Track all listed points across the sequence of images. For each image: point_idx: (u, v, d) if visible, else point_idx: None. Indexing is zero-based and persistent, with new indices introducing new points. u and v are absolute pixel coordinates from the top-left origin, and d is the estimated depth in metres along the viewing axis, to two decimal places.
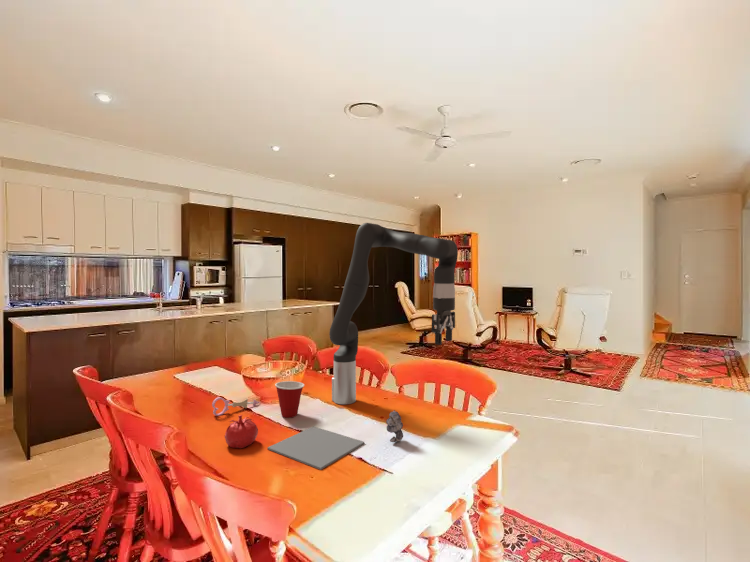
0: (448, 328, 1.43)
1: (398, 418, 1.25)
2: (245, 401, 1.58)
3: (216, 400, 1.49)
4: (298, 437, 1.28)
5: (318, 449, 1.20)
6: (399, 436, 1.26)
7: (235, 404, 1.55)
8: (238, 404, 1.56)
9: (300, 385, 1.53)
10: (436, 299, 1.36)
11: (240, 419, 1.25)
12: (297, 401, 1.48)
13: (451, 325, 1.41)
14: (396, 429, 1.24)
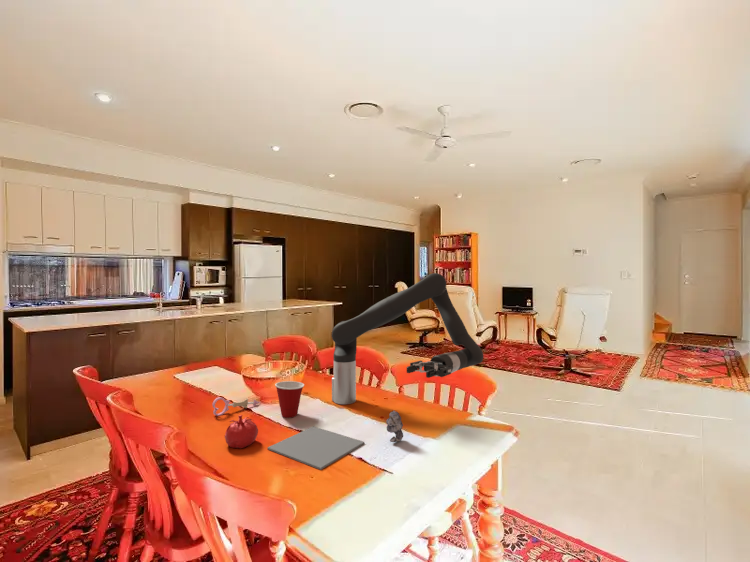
0: (415, 367, 1.40)
1: (398, 418, 1.25)
2: (245, 401, 1.58)
3: (216, 400, 1.49)
4: (298, 437, 1.28)
5: (318, 449, 1.20)
6: (399, 436, 1.26)
7: (235, 404, 1.55)
8: (238, 404, 1.56)
9: (300, 385, 1.53)
10: (451, 362, 1.42)
11: (240, 419, 1.25)
12: (297, 401, 1.48)
13: (421, 372, 1.40)
14: (396, 429, 1.24)
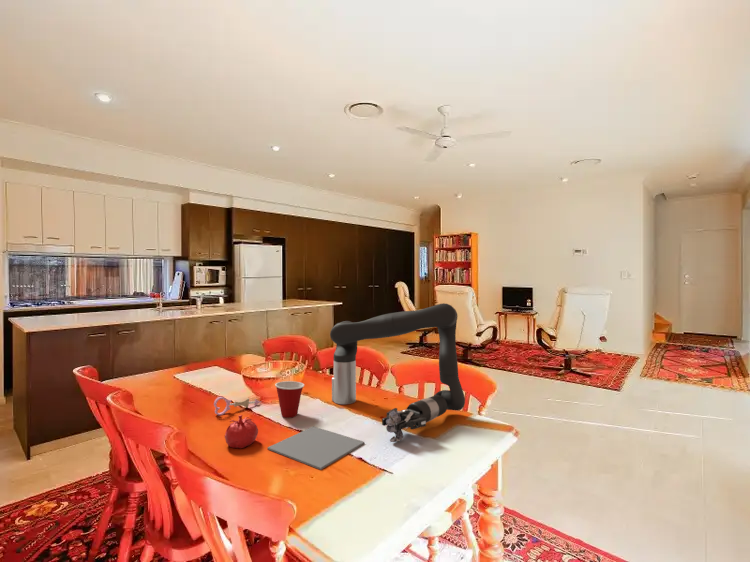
0: None
1: (398, 418, 1.25)
2: (247, 400, 1.58)
3: (218, 399, 1.49)
4: (298, 437, 1.28)
5: (318, 449, 1.20)
6: (399, 436, 1.26)
7: (236, 403, 1.55)
8: (240, 403, 1.56)
9: (300, 385, 1.53)
10: (429, 411, 1.33)
11: (240, 419, 1.25)
12: (297, 401, 1.48)
13: None
14: None
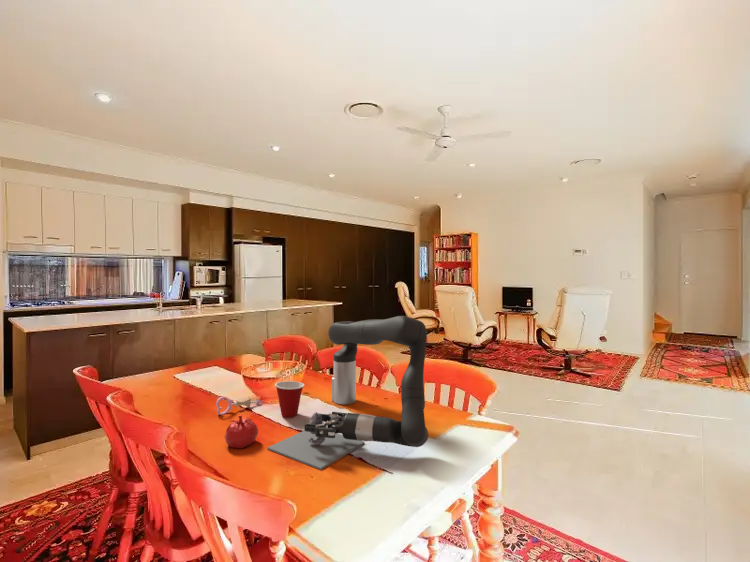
0: (329, 418, 1.26)
1: (314, 421, 1.22)
2: (248, 400, 1.59)
3: (220, 399, 1.50)
4: (298, 437, 1.28)
5: (318, 449, 1.20)
6: (316, 440, 1.22)
7: (238, 403, 1.56)
8: (242, 403, 1.57)
9: (300, 385, 1.53)
10: (354, 427, 1.16)
11: (240, 419, 1.25)
12: (297, 401, 1.48)
13: None
14: None
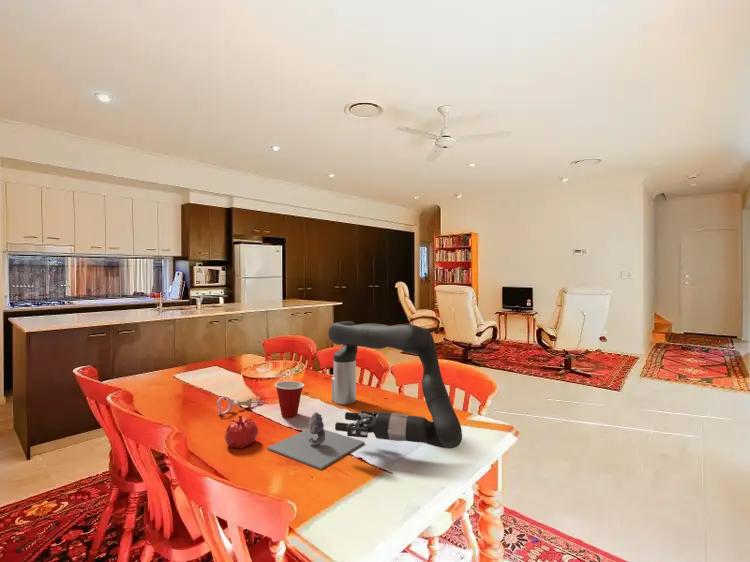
0: (358, 417, 1.24)
1: (314, 421, 1.22)
2: (249, 400, 1.59)
3: (221, 399, 1.50)
4: (298, 437, 1.28)
5: (318, 449, 1.20)
6: (316, 440, 1.22)
7: (239, 402, 1.56)
8: (242, 403, 1.57)
9: (300, 385, 1.53)
10: (386, 427, 1.14)
11: (240, 419, 1.25)
12: (297, 401, 1.48)
13: None
14: (310, 431, 1.22)
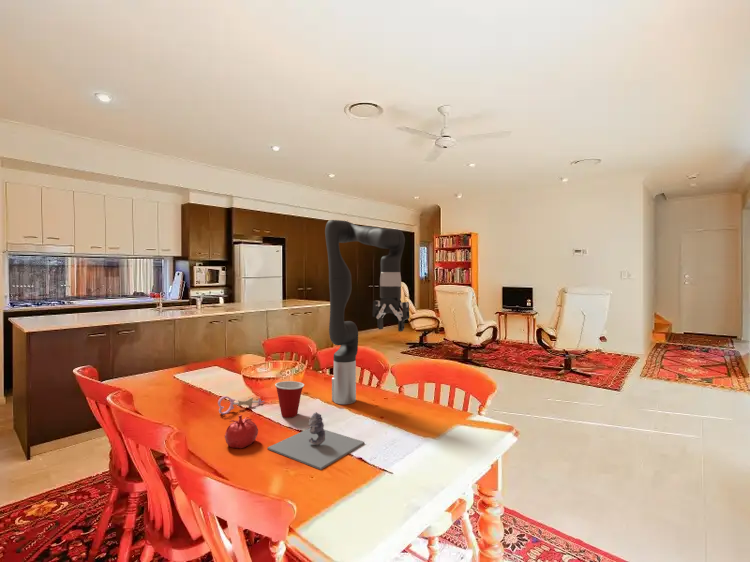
0: (380, 317, 1.44)
1: (314, 421, 1.22)
2: (250, 400, 1.59)
3: (222, 399, 1.50)
4: (298, 437, 1.28)
5: (318, 449, 1.20)
6: (316, 440, 1.22)
7: (240, 402, 1.56)
8: (243, 403, 1.57)
9: (300, 385, 1.53)
10: (397, 287, 1.39)
11: (240, 419, 1.25)
12: (297, 401, 1.48)
13: None
14: (310, 431, 1.22)
